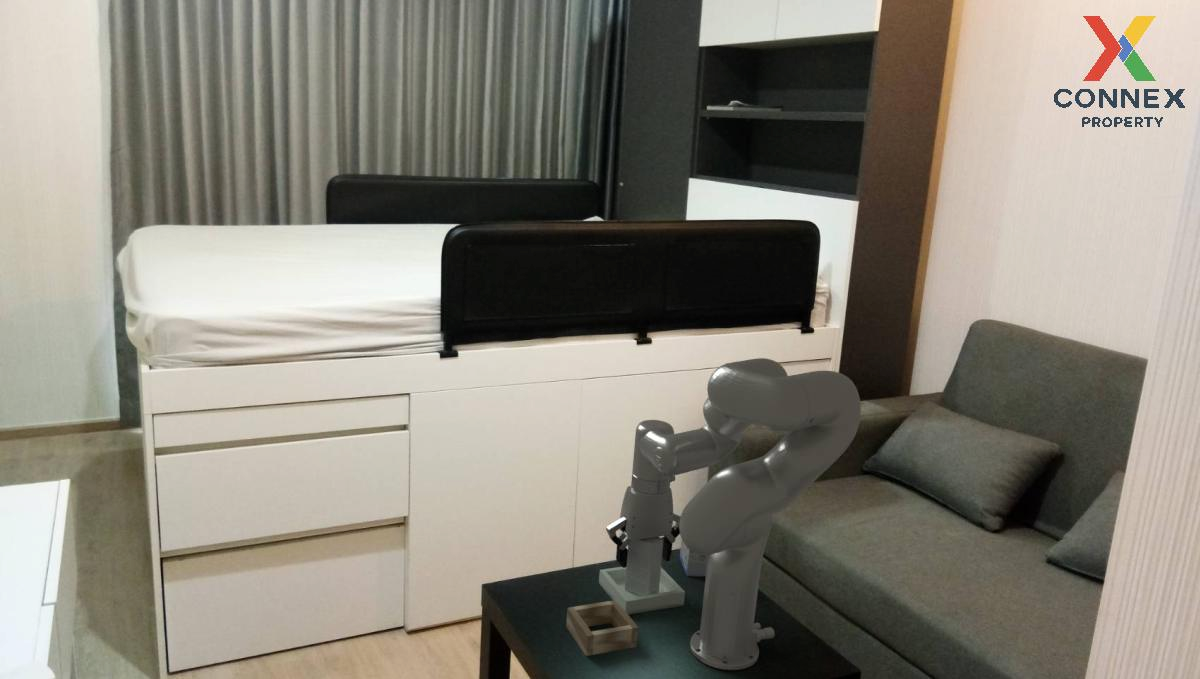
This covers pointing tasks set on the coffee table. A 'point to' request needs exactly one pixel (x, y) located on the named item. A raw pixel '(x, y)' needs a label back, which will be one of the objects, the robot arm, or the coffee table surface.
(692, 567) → the medicine box
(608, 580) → the tray
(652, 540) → the skincare box
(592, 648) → the collar
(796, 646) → the coffee table surface
